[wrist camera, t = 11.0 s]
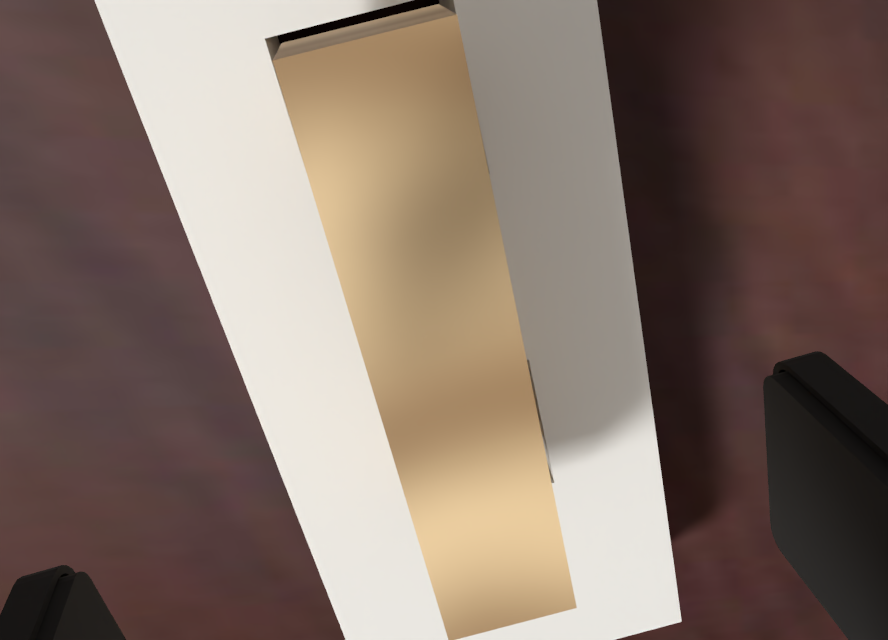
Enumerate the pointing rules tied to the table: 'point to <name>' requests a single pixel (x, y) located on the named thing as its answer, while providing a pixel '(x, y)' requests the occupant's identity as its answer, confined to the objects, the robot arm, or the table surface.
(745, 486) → the table surface
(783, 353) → the table surface
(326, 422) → the white slotted board
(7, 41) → the table surface
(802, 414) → the robot arm
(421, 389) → the tan wooden u-shaped block
